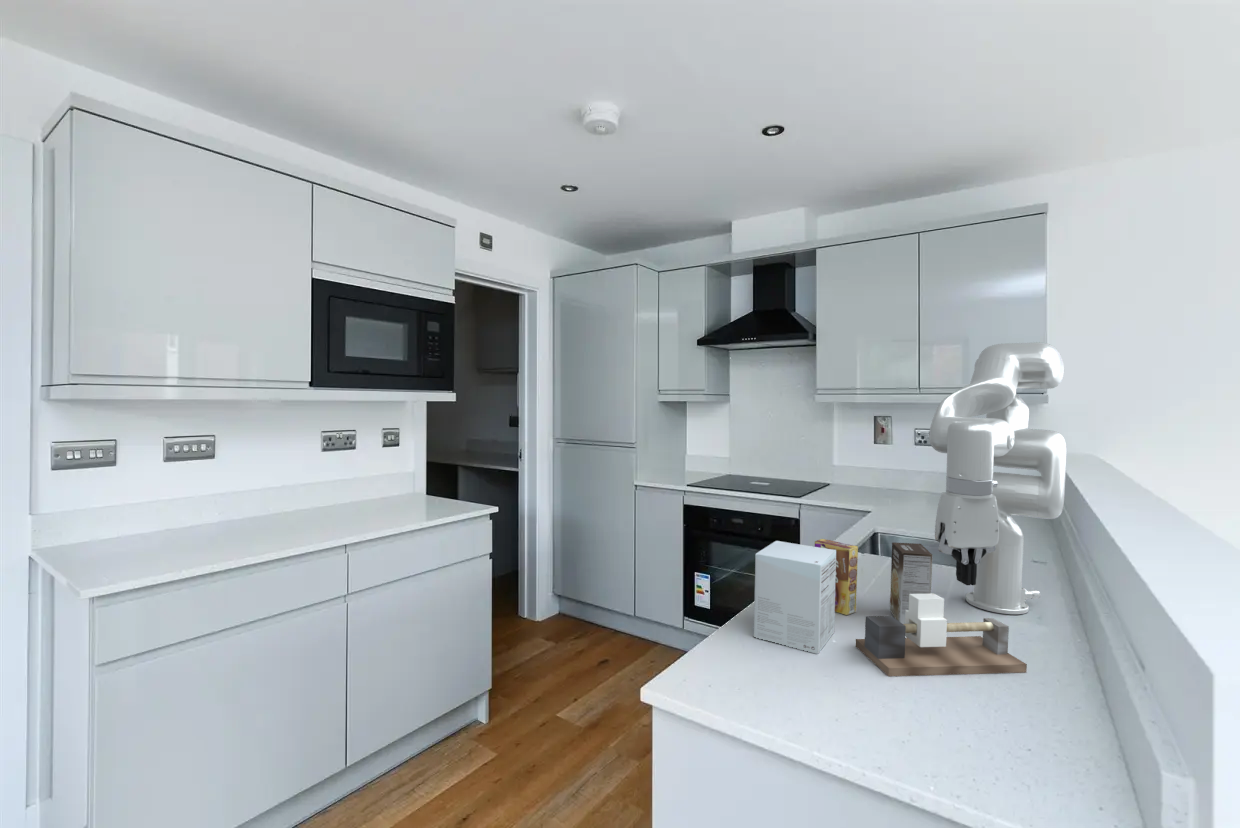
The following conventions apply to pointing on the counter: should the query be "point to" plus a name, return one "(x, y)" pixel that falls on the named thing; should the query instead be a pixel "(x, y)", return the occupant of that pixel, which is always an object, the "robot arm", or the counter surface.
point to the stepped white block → (927, 620)
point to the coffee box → (908, 576)
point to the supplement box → (795, 595)
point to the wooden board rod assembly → (938, 649)
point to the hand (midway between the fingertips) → (966, 582)
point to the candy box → (844, 574)
